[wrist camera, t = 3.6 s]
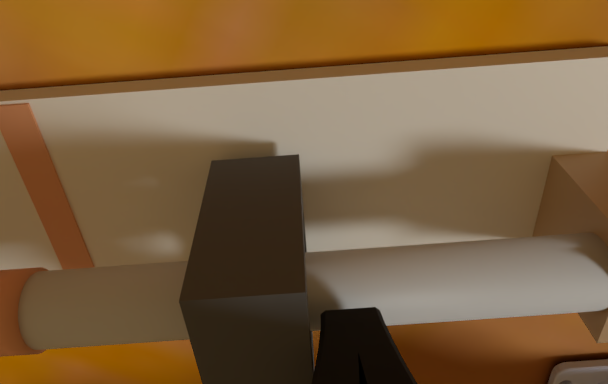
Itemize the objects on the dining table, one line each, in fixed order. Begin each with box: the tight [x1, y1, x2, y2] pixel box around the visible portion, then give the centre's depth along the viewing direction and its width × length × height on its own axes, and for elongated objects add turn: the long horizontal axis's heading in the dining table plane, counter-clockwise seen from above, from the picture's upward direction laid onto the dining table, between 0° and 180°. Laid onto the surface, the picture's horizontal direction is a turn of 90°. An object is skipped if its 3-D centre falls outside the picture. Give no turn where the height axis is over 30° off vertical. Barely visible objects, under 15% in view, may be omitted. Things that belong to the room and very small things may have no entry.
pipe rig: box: [0, 46, 608, 356], centre depth 14 cm, size 22×9×5 cm, turn 94°
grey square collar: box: [179, 154, 315, 384], centre depth 13 cm, size 2×5×5 cm, turn 4°
